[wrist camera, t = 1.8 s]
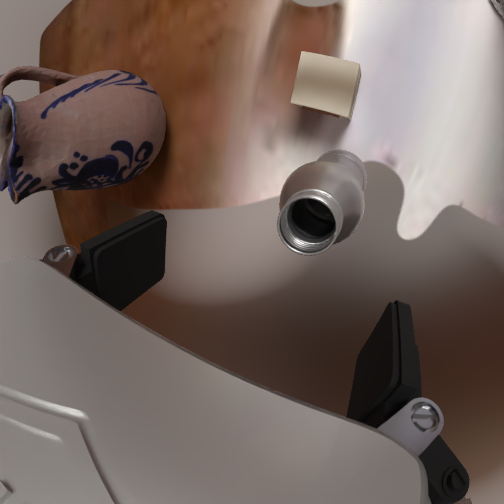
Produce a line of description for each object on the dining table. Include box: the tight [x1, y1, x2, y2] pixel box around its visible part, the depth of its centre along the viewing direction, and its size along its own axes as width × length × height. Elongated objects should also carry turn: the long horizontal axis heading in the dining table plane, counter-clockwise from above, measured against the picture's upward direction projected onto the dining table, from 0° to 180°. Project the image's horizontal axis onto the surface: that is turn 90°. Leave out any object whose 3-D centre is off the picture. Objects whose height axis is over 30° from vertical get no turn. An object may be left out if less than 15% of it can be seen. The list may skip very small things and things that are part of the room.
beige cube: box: [291, 51, 361, 120], centre depth 26 cm, size 6×6×6 cm
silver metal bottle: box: [277, 150, 367, 256], centre depth 24 cm, size 6×7×20 cm
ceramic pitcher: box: [0, 66, 166, 204], centre depth 29 cm, size 18×21×25 cm
